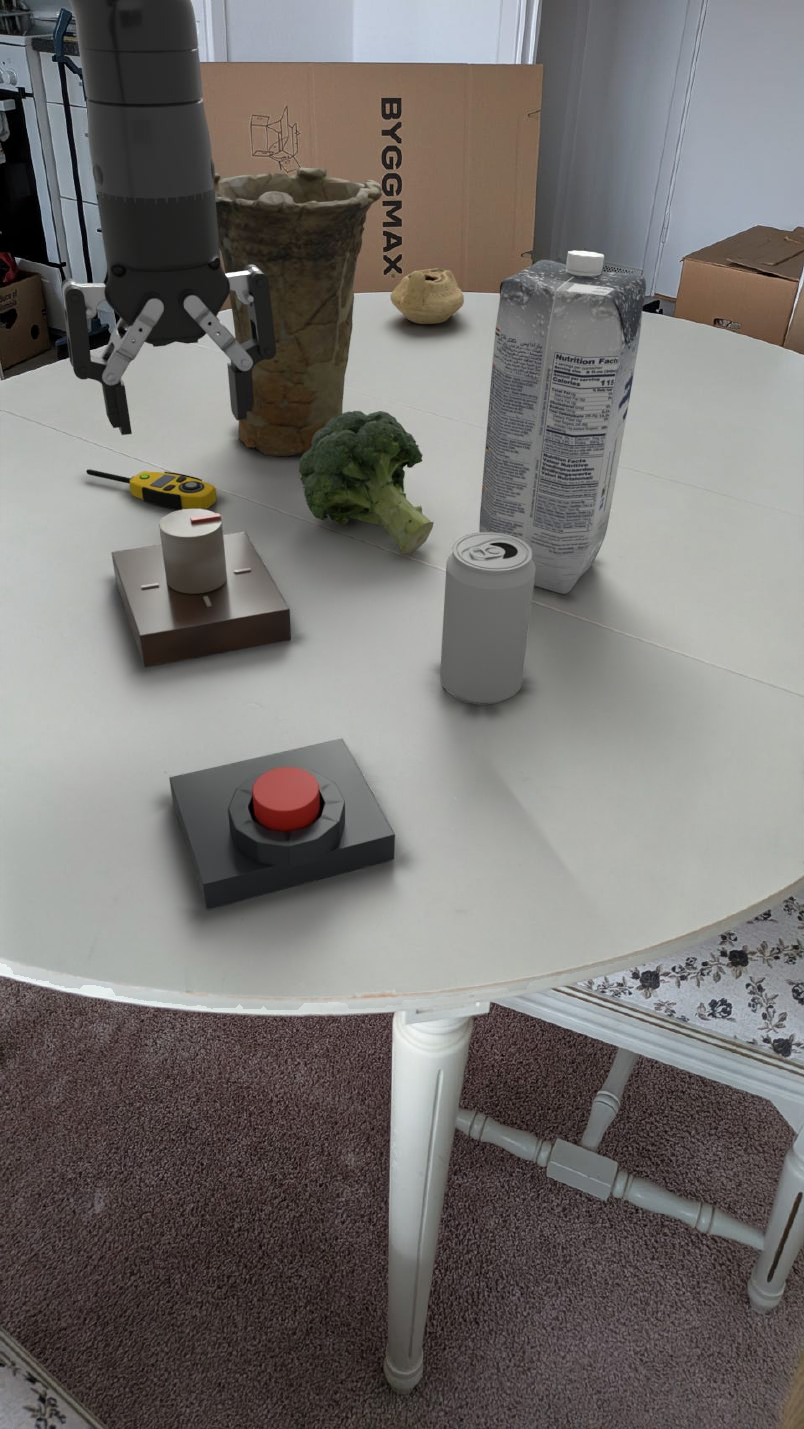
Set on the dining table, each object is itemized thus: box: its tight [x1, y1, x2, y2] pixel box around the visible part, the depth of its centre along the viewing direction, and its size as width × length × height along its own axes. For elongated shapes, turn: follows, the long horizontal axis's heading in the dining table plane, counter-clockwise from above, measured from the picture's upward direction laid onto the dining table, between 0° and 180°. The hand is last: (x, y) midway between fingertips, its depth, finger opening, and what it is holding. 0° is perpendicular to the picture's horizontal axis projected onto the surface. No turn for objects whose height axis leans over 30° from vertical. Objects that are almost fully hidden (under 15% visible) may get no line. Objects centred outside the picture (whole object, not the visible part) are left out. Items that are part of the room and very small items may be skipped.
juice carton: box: [478, 250, 647, 595], centre depth 84 cm, size 9×10×27 cm
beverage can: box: [439, 531, 536, 706], centre depth 74 cm, size 6×6×12 cm
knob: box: [158, 509, 227, 594], centre depth 82 cm, size 5×5×6 cm
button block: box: [168, 738, 396, 910], centre depth 63 cm, size 12×10×4 cm
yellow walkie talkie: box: [86, 469, 217, 510], centre depth 102 cm, size 5×2×15 cm
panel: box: [111, 531, 292, 668], centre depth 84 cm, size 12×14×3 cm
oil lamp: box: [390, 267, 465, 325], centre depth 150 cm, size 11×15×8 cm
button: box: [252, 767, 320, 832], centre depth 60 cm, size 4×4×2 cm
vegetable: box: [298, 410, 435, 556], centre depth 95 cm, size 12×13×15 cm
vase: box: [214, 166, 383, 458], centre depth 107 cm, size 18×18×27 cm
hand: (182, 423), depth 74 cm, fingers open, 8 cm apart
